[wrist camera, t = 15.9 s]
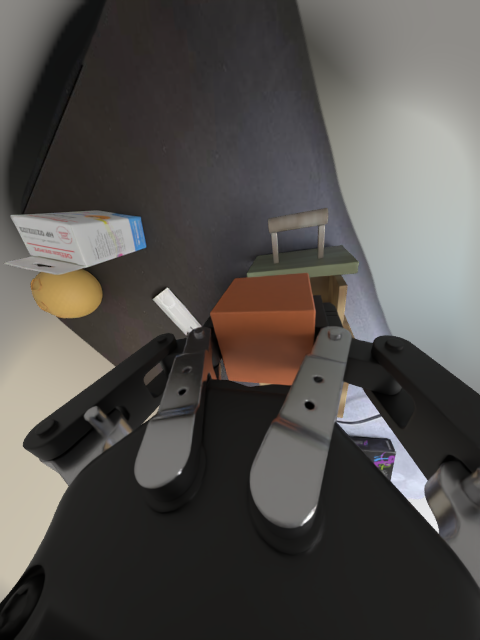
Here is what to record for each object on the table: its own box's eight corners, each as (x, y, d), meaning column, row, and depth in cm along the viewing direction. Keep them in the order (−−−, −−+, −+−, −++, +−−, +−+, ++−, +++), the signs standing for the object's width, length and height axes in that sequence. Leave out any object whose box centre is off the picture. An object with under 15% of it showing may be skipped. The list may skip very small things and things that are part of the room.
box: (384, 474, 54) (391, 438, 44) (389, 489, 51) (398, 455, 42) (330, 467, 58) (327, 434, 49) (333, 481, 56) (329, 449, 46)
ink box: (141, 215, 30) (38, 227, 18) (147, 248, 32) (62, 278, 20) (95, 208, 31) (-31, 216, 19) (104, 241, 34) (0, 265, 22)
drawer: (252, 218, 26) (238, 226, 19) (346, 201, 22) (367, 202, 16) (267, 334, 35) (261, 364, 29) (333, 334, 32) (343, 367, 26)
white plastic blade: (200, 350, 43) (198, 353, 42) (153, 298, 38) (149, 301, 37) (216, 343, 41) (214, 346, 40) (168, 286, 36) (165, 289, 35)
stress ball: (87, 250, 36) (26, 266, 27) (123, 295, 40) (79, 320, 31) (62, 269, 40) (2, 288, 32) (96, 308, 44) (51, 334, 36)
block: (308, 272, 11) (316, 310, 7) (306, 334, 13) (312, 388, 10) (234, 278, 12) (208, 313, 9) (244, 334, 15) (228, 381, 11)
